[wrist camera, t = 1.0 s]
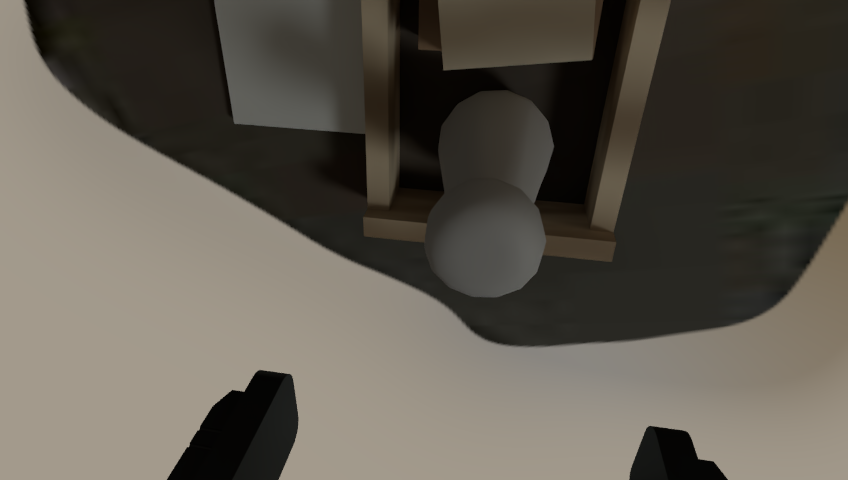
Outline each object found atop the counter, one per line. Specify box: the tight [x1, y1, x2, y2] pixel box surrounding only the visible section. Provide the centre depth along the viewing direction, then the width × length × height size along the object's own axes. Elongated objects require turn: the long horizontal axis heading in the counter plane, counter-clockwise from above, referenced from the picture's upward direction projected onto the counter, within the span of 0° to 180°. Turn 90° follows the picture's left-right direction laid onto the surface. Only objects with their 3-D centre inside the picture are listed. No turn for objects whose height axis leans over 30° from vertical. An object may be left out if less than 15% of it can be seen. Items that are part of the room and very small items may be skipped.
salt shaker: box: [425, 90, 554, 297], centre depth 23 cm, size 6×6×13 cm
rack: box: [361, 0, 671, 262], centre depth 26 cm, size 15×13×4 cm
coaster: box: [214, 0, 365, 134], centre depth 28 cm, size 8×8×1 cm
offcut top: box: [438, 0, 596, 70], centre depth 22 cm, size 4×6×3 cm, turn 96°
